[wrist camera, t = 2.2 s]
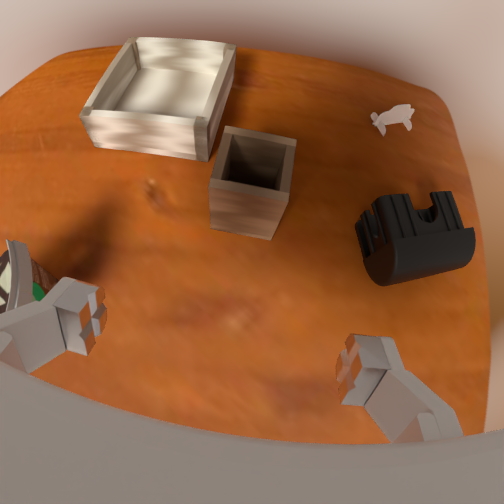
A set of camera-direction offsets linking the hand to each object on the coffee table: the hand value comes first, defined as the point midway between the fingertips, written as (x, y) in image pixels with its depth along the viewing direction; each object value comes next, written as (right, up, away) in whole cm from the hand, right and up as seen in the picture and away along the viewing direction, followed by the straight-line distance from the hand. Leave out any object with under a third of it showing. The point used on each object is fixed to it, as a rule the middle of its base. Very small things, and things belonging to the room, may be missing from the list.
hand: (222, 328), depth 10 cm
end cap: (+16, +2, +21) cm, 26 cm away
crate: (-9, +18, +23) cm, 31 cm away
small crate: (0, +6, +20) cm, 21 cm away
